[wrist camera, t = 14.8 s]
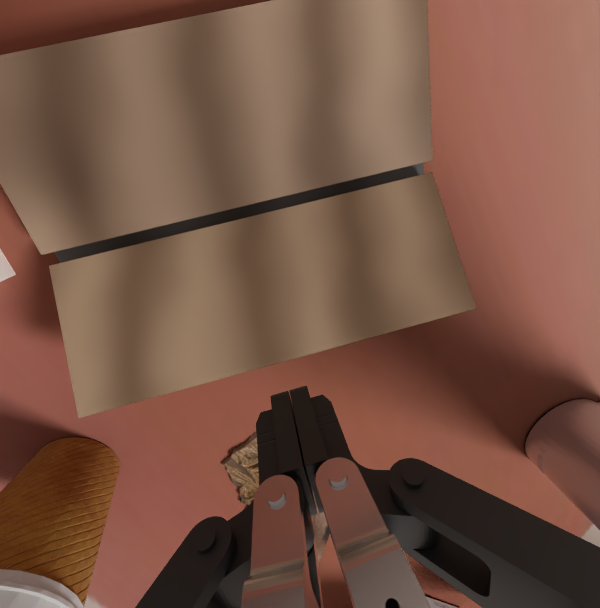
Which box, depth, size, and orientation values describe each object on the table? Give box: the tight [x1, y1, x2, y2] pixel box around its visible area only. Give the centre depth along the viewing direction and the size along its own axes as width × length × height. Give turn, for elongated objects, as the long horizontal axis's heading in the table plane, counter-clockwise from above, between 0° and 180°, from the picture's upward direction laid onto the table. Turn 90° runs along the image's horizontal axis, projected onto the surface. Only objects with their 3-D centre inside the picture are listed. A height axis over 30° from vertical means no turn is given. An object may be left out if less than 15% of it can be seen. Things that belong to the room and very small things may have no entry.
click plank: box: [49, 172, 476, 418], centre depth 20 cm, size 24×9×2 cm
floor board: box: [0, 0, 433, 263], centre depth 18 cm, size 24×10×2 cm, turn 102°
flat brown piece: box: [222, 432, 330, 566], centre depth 33 cm, size 26×11×1 cm, turn 4°
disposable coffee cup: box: [0, 437, 120, 608], centre depth 21 cm, size 10×10×12 cm
